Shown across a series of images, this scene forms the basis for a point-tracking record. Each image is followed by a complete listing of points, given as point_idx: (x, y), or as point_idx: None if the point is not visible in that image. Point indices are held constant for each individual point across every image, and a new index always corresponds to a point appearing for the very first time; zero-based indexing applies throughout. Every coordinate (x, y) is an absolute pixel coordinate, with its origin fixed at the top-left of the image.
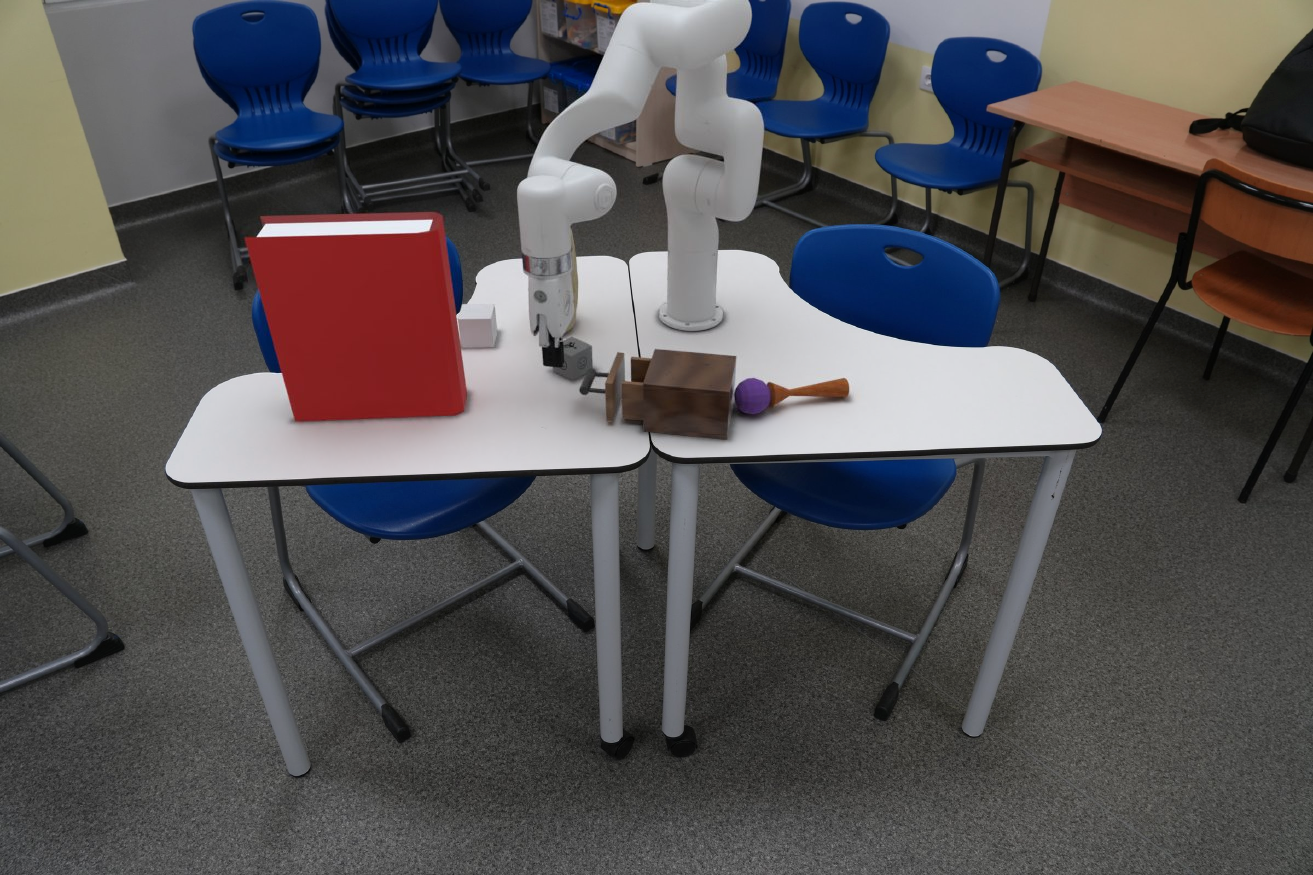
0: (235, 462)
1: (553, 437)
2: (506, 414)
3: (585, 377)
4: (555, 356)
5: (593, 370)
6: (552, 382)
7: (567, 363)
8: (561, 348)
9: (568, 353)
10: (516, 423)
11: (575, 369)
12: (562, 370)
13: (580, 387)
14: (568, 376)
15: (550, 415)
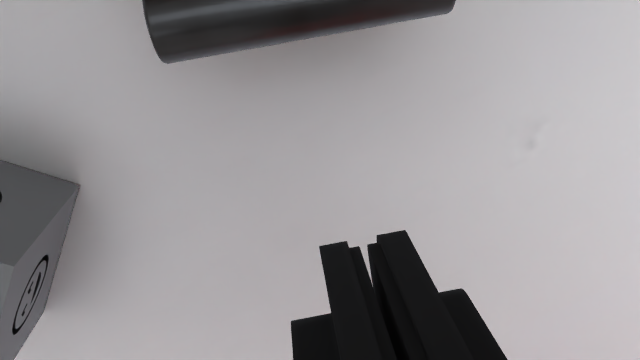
0: None
1: (603, 56)
2: None
3: (301, 25)
4: (491, 334)
5: (168, 3)
6: (141, 270)
7: (33, 265)
8: (444, 349)
9: None
10: (522, 260)
11: (29, 203)
12: (48, 270)
13: (448, 5)
14: (66, 220)
15: (425, 152)
